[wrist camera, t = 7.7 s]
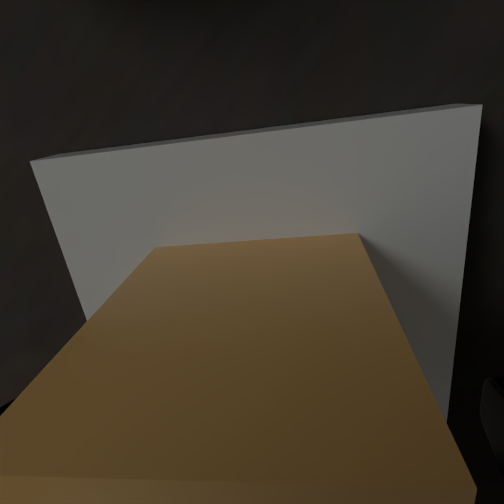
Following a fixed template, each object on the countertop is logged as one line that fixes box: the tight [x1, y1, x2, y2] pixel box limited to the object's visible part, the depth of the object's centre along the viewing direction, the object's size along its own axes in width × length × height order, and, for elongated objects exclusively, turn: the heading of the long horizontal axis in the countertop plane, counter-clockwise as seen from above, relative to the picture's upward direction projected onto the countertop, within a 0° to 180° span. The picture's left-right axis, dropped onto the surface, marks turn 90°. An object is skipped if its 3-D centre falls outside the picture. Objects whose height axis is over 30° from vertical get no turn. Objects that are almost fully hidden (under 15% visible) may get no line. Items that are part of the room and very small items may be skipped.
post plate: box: [30, 104, 482, 423], centre depth 8 cm, size 10×10×6 cm
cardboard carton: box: [0, 233, 477, 504], centre depth 7 cm, size 5×5×6 cm
